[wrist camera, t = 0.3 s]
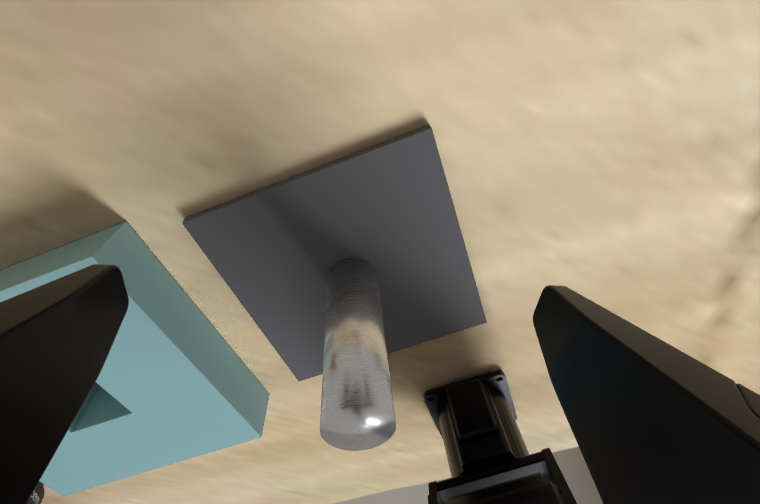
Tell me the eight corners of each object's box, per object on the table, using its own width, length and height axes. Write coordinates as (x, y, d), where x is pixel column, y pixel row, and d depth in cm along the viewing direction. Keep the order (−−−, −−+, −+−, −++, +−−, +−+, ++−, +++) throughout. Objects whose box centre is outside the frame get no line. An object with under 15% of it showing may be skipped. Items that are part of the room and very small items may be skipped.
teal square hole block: (269, 394, 30) (261, 437, 27) (89, 450, 32) (64, 496, 29) (126, 221, 21) (92, 256, 19) (-107, 311, 23) (-172, 356, 20)
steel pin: (384, 288, 25) (405, 438, 16) (339, 303, 25) (338, 457, 17) (366, 251, 23) (381, 395, 15) (319, 267, 23) (306, 418, 15)
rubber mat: (484, 316, 27) (486, 322, 27) (299, 374, 29) (298, 381, 29) (429, 124, 20) (431, 128, 19) (186, 217, 22) (182, 223, 21)
